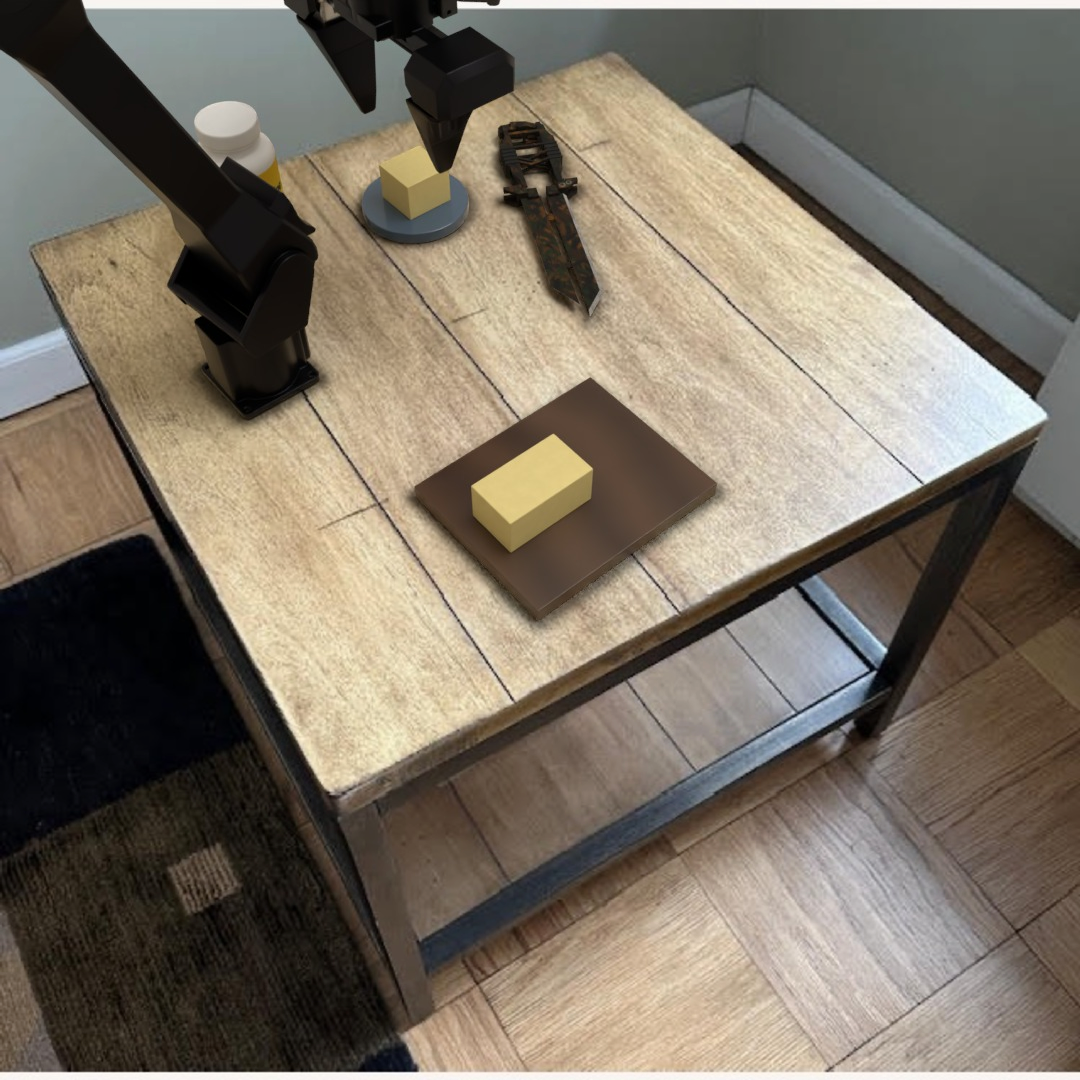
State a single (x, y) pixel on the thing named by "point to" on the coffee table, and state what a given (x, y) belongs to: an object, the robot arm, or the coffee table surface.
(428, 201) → the butter pat
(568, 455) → the butter stick
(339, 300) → the coffee table surface
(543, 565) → the board
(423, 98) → the robot arm
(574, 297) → the knife
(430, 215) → the plate
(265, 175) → the pill bottle
